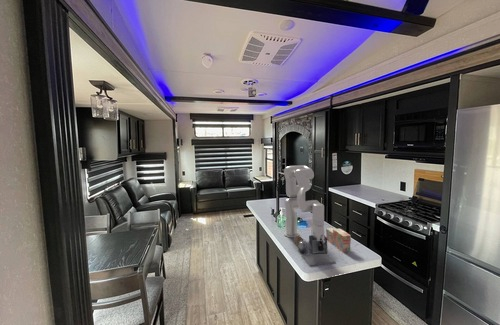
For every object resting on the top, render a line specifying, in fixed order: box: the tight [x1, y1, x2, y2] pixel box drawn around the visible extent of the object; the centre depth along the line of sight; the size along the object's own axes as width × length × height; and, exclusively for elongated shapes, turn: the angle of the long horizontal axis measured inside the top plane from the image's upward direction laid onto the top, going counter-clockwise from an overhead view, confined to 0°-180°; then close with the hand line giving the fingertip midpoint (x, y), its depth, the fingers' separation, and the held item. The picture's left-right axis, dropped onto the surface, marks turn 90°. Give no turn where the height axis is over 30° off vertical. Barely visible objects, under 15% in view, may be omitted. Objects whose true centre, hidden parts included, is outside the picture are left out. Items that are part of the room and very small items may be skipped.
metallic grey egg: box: [298, 240, 307, 254], centre depth 157 cm, size 5×5×7 cm
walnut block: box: [293, 236, 304, 247], centre depth 168 cm, size 5×5×5 cm
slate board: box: [301, 252, 336, 267], centre depth 146 cm, size 13×18×1 cm
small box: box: [308, 234, 328, 254], centre depth 145 cm, size 11×6×10 cm, turn 92°
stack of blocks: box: [325, 227, 352, 253], centre depth 165 cm, size 21×6×12 cm, turn 13°
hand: (318, 247), depth 145 cm, fingers closed on small box, 6 cm apart
